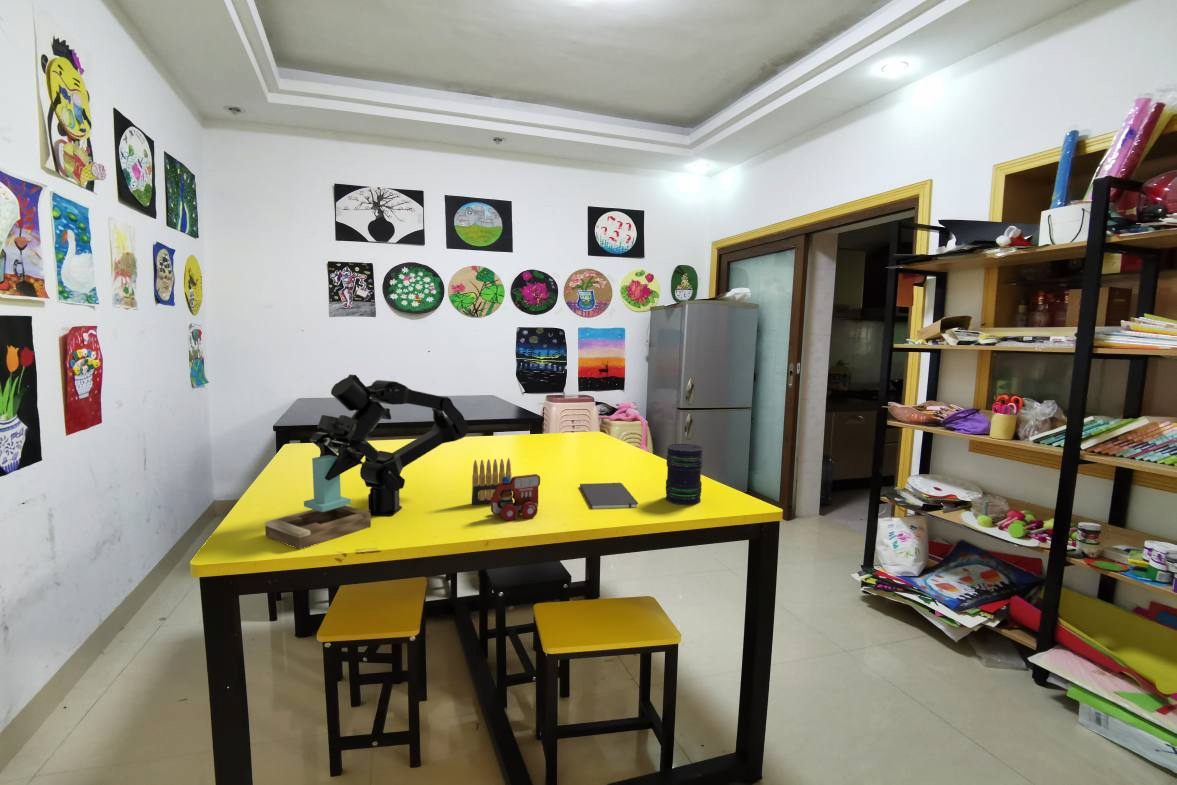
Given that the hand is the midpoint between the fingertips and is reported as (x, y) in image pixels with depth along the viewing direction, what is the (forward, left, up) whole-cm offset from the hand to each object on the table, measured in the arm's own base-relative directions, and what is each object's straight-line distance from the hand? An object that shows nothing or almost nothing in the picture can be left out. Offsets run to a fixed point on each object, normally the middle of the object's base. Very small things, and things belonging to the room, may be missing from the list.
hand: (321, 478), depth 124 cm
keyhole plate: (0, +1, -12) cm, 12 cm away
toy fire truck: (-41, -15, -12) cm, 46 cm away
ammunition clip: (-33, -25, -12) cm, 43 cm away
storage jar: (-85, -33, -12) cm, 92 cm away
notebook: (-64, -34, -13) cm, 74 cm away
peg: (-1, -1, -7) cm, 7 cm away
